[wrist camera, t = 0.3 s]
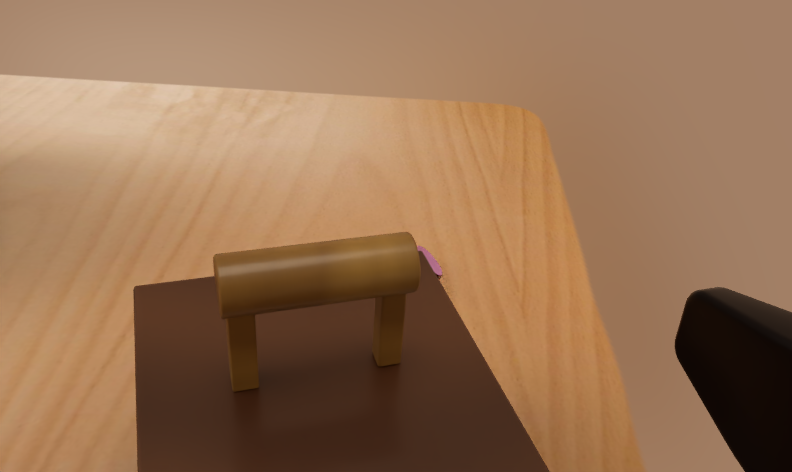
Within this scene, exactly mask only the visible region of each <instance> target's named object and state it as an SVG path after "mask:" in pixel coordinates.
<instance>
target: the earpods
mask: <svg viewBox="0 0 792 472" xmlns="http://www.w3.org/2000/svg"><path fill="white" fill-rule="evenodd" d="M417 249H418V251H423V253H424V255H425V257H426V258H427V260H428V262H429V264H430V265H431V267H432V269H433V271H434V272H435V274H437V275H442V270H441V268H440V266H439V264H438V263H437V261H436V260H435V258H434V257H433V256H432V255H431V254H430V253H429V252H428V251H427V250H426V249H425V248H423V247H421V246H417Z"/></svg>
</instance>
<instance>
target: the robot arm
mask: <svg viewBox="0 0 792 472" xmlns="http://www.w3.org/2000/svg"><path fill="white" fill-rule="evenodd" d="M675 351H676V355H677V358H678V360H679V362H680V364H681V365H682V367H683V369H684V371H685V372H686V374H687V376H688V377H689V379H690V381H691V383H692V384H693V386H694V388H695V390H696V391H697V393H698V395H699V397H700V398H701V400H702V401H703V403H704V405H705V407H706V409H707V410H708V412H709V414H710V415H711V417H712V419H713V420H714V422H715V424H716V426H717V428H718V429H719V431H720V433H721V435H722V436H723V438H724V440H725V441H726V443H727V445H728V446H729V448H730V450H731V451H732V453H733V454H734V456H735V458H736V459H737V461H738V462H739V464H740V465H741V467H742V468H743V469H744V471H745V472H792V312H789V311H786V310H784V309H781V308H778V307H776V306H773V305H770V304H767V303H765V302H762V301H759V300H756V299H754V298H751V297H748V296H745V295H743V294H740V293H737V292H735V291H732V290H729V289H726V288H721V287H715V288H709V289H704V290H697V291H695V292H693V293H691V295H690V296H689V297H688V298H687V301H686V304H685V308H684V311H683V314H682V318H681V321H680V325H679V328H678V332H677V335H676V339H675Z"/></svg>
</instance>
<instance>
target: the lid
mask: <svg viewBox="0 0 792 472" xmlns="http://www.w3.org/2000/svg"><path fill="white" fill-rule="evenodd" d="M213 264H214V275H215V276H213V277H205V278H197V279H189V280H181V281H173V282H165V283H157V284H149V285H141V286H135V287H134V290H133V291H134V335H135V378H136V422H137V466H138V472H549V470H548V468H547V466H546V465H545V463H544V461H543V460H542V458H541V456H540V454H539V453H538V451H537V449H536V447H535V446H534V444H533V442H532V440H531V439H530V437H529V435H528V434H527V432H526V430H525V428H524V427H523V425H522V423H521V421H520V420H519V418H518V416H517V414H516V413H515V411H514V409H513V408H512V406H511V404H510V402H509V401H508V399H507V397H506V395H505V394H504V392H503V390H502V388H501V387H500V385H499V383H498V382H497V380H496V378H495V376H494V375H493V373H492V371H491V369H490V368H489V366H488V364H487V362H486V361H485V359H484V357H483V356H482V354H481V352H480V350H479V349H478V347H477V345H476V343H475V342H474V340H473V338H472V336H471V335H470V333H469V331H468V330H467V328H466V326H465V324H464V323H463V321H462V319H461V317H460V316H459V314H458V312H457V310H456V309H455V307H454V305H453V303H452V302H451V300H450V298H449V297H448V295H447V293H446V291H445V290H444V288H443V286H442V284H441V283H440V281H439V279H438V277H437V276H436V274H435V272H434V271H433V269H432V267H431V265H430V264H429V262H428V260H427V258H426V257H425V255H424V253H423V251H418V249H417V246H416V243H415V240H414V238H413V237H412V235H411V234H410V233H408V232H401V233H392V234H384V235H375V236H367V237H358V238H350V239H341V240H332V241H324V242H315V243H307V244H298V245H290V246H281V247H273V248H264V249H255V250H247V251H238V252H230V253H221V254H215V255H214V257H213Z"/></svg>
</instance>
